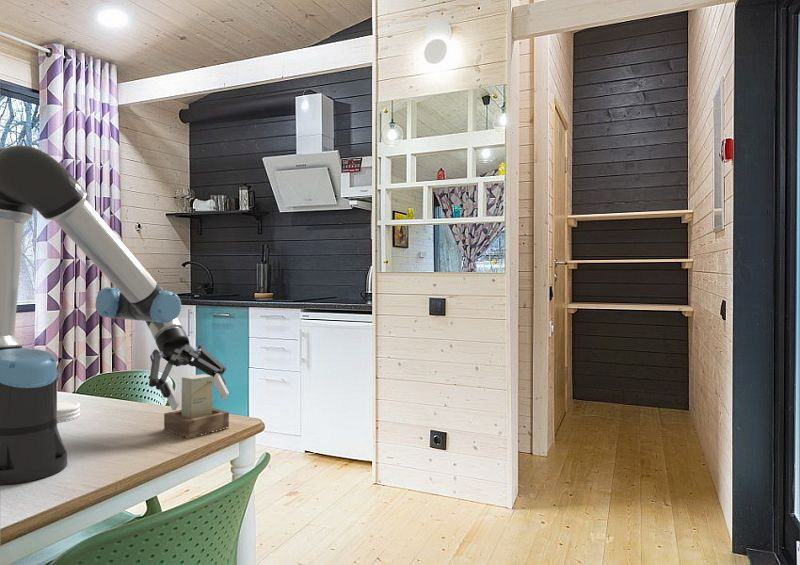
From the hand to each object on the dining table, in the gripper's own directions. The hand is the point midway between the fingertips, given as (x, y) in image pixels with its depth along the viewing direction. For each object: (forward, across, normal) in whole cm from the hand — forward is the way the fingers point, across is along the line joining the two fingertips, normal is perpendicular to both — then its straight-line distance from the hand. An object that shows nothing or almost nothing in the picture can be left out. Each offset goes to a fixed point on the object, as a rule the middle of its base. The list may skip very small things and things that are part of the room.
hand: (201, 401), depth 141 cm
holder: (+3, 0, -7) cm, 8 cm away
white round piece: (-22, +18, -32) cm, 43 cm away
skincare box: (+3, 0, -6) cm, 7 cm away
